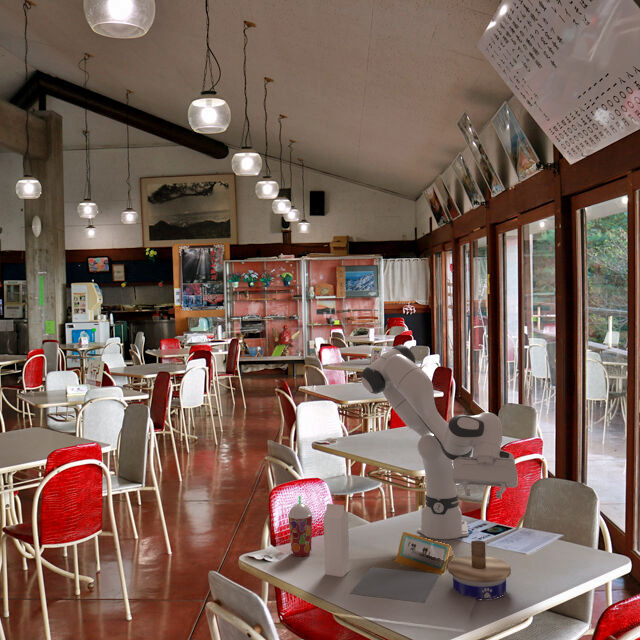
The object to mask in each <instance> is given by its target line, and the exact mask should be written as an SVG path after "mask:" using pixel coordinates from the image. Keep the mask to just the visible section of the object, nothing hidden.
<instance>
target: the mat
mask: <svg viewBox="0 0 640 640" xmlns="http://www.w3.org/2000/svg"><path fill="white" fill-rule="evenodd" d="M440 575H441V574H439V573H432V572H431V573H429V572H421V571H412V570H411V571H410V570H402V569H401V570H400V569H390V568H383V567H382V568H381V567H374V566H373V567H370V568H369V569H368V571H367V572H366V573H365V574H364V575H363V577H362V578H361V579H360V581H358V583H357V584H356V585H355V587H353V589H352V590H351V591H350V592H349V595H353V596H354V595H355V596H363V597H372V598H378V599H379V598H381V599H388V600H398V601H405V602H414V603H421V604H423V603H425V604H426V601H427V599H428V597H429V595H430V593H431V592H432V590H433V588H434V585H435V584H436V582H437V581H438V578H439V577H440Z"/></svg>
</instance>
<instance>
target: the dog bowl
mask: <svg viewBox="0 0 640 640" xmlns="http://www.w3.org/2000/svg"><path fill="white" fill-rule="evenodd" d="M452 586H453V590H454V591H455V592H456V593H458V594H460V595H463V596H465V597H469V598H474V600H475V599H492V600H495V599H494V598H497V597H500V596H502V595H504V594H505V595H506V593H507V578H506V579H503V580H500V581H495V582H471V581H466V580H462V579H459V578H456V577H454V576H452ZM505 595H504V596H505ZM502 597H503V596H502ZM500 598H501V597H500ZM497 599H498V598H497Z"/></svg>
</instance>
